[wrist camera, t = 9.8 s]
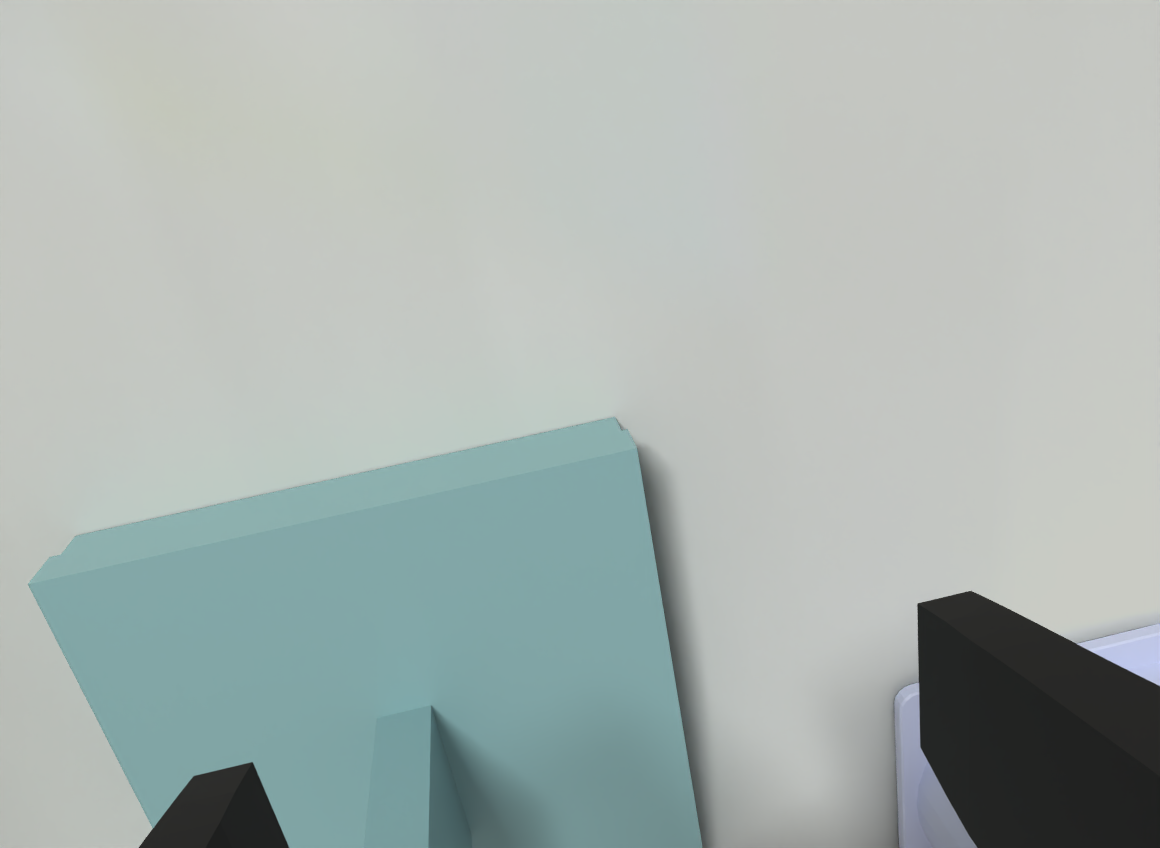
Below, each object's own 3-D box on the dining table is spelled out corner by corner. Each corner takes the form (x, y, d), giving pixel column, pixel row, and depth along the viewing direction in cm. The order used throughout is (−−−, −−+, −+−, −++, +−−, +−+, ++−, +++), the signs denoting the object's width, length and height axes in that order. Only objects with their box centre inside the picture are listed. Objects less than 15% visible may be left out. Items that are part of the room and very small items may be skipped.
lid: (618, 411, 19) (688, 549, 14) (694, 857, 25) (766, 1082, 19) (68, 532, 18) (-90, 730, 13) (274, 965, 24) (224, 1231, 19)
